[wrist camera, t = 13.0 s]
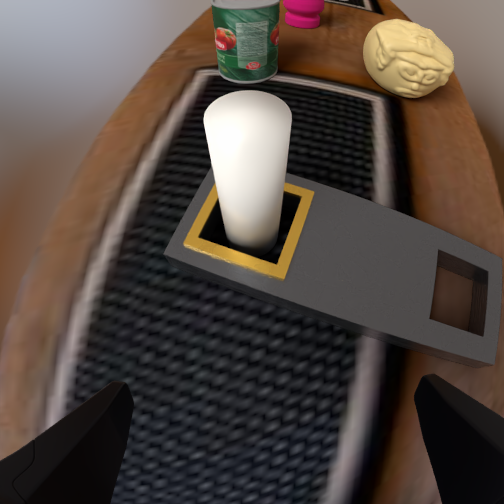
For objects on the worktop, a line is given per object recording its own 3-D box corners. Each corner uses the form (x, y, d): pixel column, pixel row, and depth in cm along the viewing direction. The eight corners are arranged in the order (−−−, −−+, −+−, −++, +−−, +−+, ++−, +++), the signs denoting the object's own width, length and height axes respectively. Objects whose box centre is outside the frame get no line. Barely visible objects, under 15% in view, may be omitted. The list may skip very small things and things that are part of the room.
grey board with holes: (487, 268, 23) (503, 257, 20) (476, 367, 19) (496, 364, 17) (221, 172, 27) (218, 152, 25) (172, 266, 24) (162, 252, 21)
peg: (280, 255, 24) (299, 142, 13) (227, 259, 24) (202, 149, 12) (274, 209, 26) (284, 88, 14) (225, 213, 26) (204, 94, 14)
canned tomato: (289, 70, 35) (294, -1, 25) (243, 90, 33) (239, 11, 23) (251, 50, 37) (250, -13, 27) (207, 68, 35) (197, -1, 25)
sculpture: (367, 101, 32) (388, 30, 22) (351, 56, 37) (363, -2, 27) (442, 117, 32) (472, 58, 22) (416, 71, 36) (435, 19, 27)
